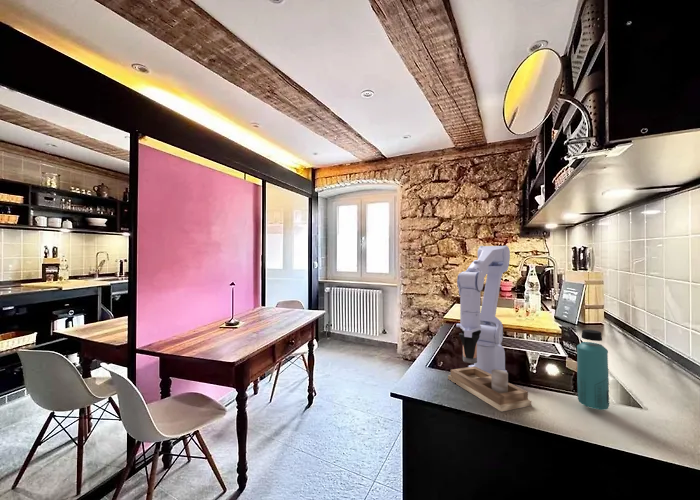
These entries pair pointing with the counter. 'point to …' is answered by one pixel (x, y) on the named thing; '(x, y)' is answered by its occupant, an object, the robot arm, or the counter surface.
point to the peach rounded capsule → (469, 360)
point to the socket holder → (491, 387)
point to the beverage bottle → (592, 372)
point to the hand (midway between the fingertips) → (470, 355)
